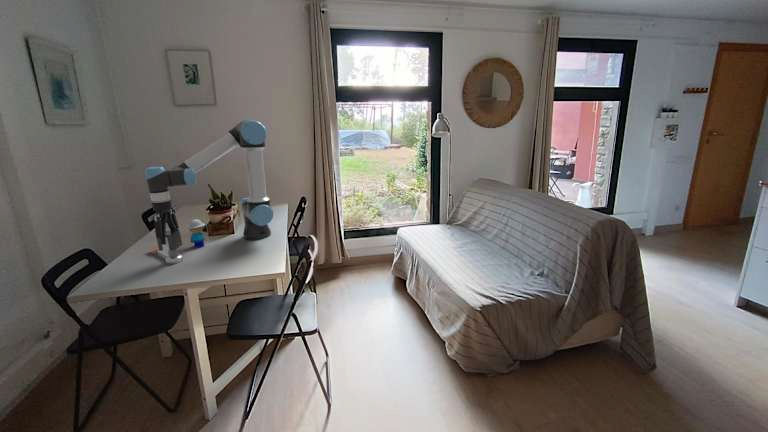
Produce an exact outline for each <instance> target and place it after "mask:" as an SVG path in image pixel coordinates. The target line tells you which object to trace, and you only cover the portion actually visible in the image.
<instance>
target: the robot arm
mask: <svg viewBox="0 0 768 432" xmlns="http://www.w3.org/2000/svg"><path fill="white" fill-rule="evenodd" d="M266 139H267V130H266V127H265V126H264V124H262V123H261V122H260V121H258V120H255V119H246V120H241V121H240V122H239V123H237V124H236V125H234V127H232V128H231V129H230V130H228V131H226V135H224V136H222V137H221V138H219V139H217V141H215V142H213V143H211V144H210V145H208V146H207V147H205V148H204V149H202V150H200V151H199V152H198V153H195V154H193V156H191V157H190V158H187V159H186V160H185V161H183V162H182V163H180V164H178V165H176V166H174V167H173V168H171V170H165V168H164V167H163V166H151V167H146V168H145V170H144V173H145V180H146V184H147V187H148V191H149V192H148V193H149V196H150V200H151V206H152V210H153V211H155V212H156V215H155V216H152V221H153V224H154V225H153V226H154V232H155V238H156V239H157V238H160V240H161V244H162V248H163V251H168V250H170V248H169V243H168V239H167V237H166V231H167V230H166V229H167V226H168V228H169V231H177V230H180V229H179V223H178V218H177V216H176V210H175V209H172V208H173V204H172V200H170V199H171V195H170V191H169V187H170V188H171V187H172V188H173V187H180V186H181V187H182V186H190V185H195V184H196V183H197V176H196V174H197V173H199V172H200V171H202V170H203V169H205V168H206V167H207V166H209V165H211V164H212V163H214V162H215V161H217V160H218V159H220V158H222V157H223V156H225V155H227V153H229V152H231V151H232V150H235V149H236V148H241V149H242V150H243V151H244V155H245V157H244V158H245V165H246V175H247V176H246V177H247V186H248V194H249V195H248V196H249V197H244V198H241V203H240V204H241V208H242V215H243V220H244V228H243V232H242V233H243V234H242V236H243V237H242V238H243V239H244V240H247V241H248V240H249V241H256V240H261V239H265V238H268V237H270V236H271V234H272V231H271V228H270V227H269V224H270V222H272V220H273V218H274V211H273V208H272V206H271V199H270V197H269V196H268V195H267V185H266V184H267V183H266V175H265V174H266V173H265V164H264V163H265V162H264V150H265V148H266Z"/></svg>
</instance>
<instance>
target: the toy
mask: <svg viewBox="0 0 768 432" xmlns="http://www.w3.org/2000/svg"><path fill="white" fill-rule="evenodd" d="M186 228H187V229H189V232H190V233H192V234H191V235H190V239H189V240H190V241H189V242H190V243H191V244H192V243H194V247H197V248H203V247H205V242H204V241H206V237H205V235H204V234H203V233H202V232H204V233H208V226H207V225H206V224H205V223H203V222H202V221H201V220H200V219H191V221H190V222H189V223H188V225H187V226H186Z"/></svg>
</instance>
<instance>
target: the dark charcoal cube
mask: <svg viewBox="0 0 768 432" xmlns="http://www.w3.org/2000/svg"><path fill="white" fill-rule="evenodd" d="M166 237H167V239H168V243H169V248H170V250H176V249H177V250H178V249H179V248H180V247H181V246H183V241H182V236H181V231H180V229H179V230H177V231H171V230H166ZM156 241H157V242H156V243H157V246H158V247H159V251H163V248H162V244H161V240H160V238H156Z"/></svg>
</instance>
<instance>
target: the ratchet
mask: <svg viewBox="0 0 768 432" xmlns="http://www.w3.org/2000/svg"><path fill="white" fill-rule="evenodd" d="M149 249H150V253H152V254H153V255H156V256H158V257H161V258H162V259H164V260H165V264H166V265H176V264H179V263H181V262H183V261H184V258H183V255H182V254H181V253H178V248H177V249H176V250H167V251H159V247H158V245H155V246H151V247H149Z"/></svg>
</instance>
